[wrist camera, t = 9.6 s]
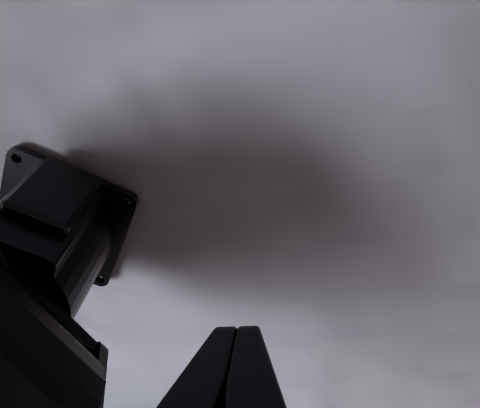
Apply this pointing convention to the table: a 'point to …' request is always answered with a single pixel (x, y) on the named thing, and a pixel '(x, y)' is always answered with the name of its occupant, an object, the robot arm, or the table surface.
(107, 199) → the robot arm
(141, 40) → the table surface
